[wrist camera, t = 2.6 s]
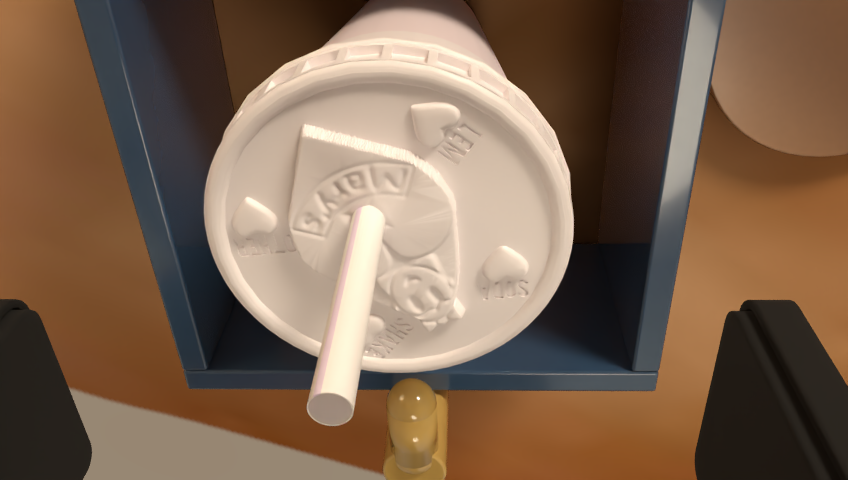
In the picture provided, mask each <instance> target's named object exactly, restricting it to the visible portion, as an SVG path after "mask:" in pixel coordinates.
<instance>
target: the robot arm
mask: <svg viewBox="0 0 848 480" xmlns="http://www.w3.org/2000/svg"><path fill="white" fill-rule="evenodd" d="M91 456H92V448H91V443H90V440H89V438H88V435H87V433H86V431H85V428H84V426H83V423H82V420H81V418H80V415H79V413H78V411H77V408H76V406H75V403H74V400H73V398H72V395H71V393H70V390H69V388H68V385H67V383H66V380H65V378H64V375H63V373H62V370H61V368H60V365H59V363H58V360H57V358H56V355H55V353H54V350H53V348H52V345H51V343H50V340H49V338H48V335H47V333H46V330H45V328H44V325H43V323H42V320H41V318H40V316H39V314H38V313H37V312H35V311H33V310H29V308H28V306H27V305H26V304H25V303H24V302H23V301H21V300H16V299H0V480H83V478H84V476H85V474H86V473H87V471H88V468H89V466H90V462H91ZM695 470H696V476H697V480H848V386H847V385H846V383H845V381H844V380H843V378H842V376H841V375H840V373H839V372H838V370H837V368H836V367H835V365H834V363H833V362H832V360H831V358H830V357H829V355H828V354H827V352H826V350H825V349H824V347H823V345H822V344H821V342H820V341H819V339H818V337H817V336H816V334H815V332H814V331H813V329H812V327H811V326H810V324H809V323H808V321H807V319H806V318H805V316H804V314H803V313H802V311H801V309H800V308H799V306H798V305H797V304H796V303H795V302H794V301H791V300H747V301H744V303H743V304H742V305H741V308H740V311H731V312H729V313H728V314H727V316H726V319H725V323H724V328H723V332H722V337H721V341H720V346H719V350H718V354H717V359H716V363H715V368H714V372H713V376H712V381H711V385H710V390H709V394H708V398H707V403H706V407H705V412H704V416H703V420H702V425H701V429H700V434H699V438H698V443H697V447H696V452H695Z"/></svg>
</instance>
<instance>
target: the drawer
mask: <svg viewBox="0 0 848 480" xmlns="http://www.w3.org/2000/svg"><path fill="white" fill-rule="evenodd" d="M74 2H75V5H76V9H77V12H78V15H79V19H80V22H81V26H82V29H83V32H84V36H85V39H86V43H87V46H88V49H89V53H90V56H91V60H92V63H93V66H94V70H95V73H96V76H97V80H98V83H99V87H100V90H101V93H102V97H103V100H104V104H105V107H106V110H107V114H108V117H109V121H110V124H111V127H112V131H113V134H114V138H115V141H116V144H117V148H118V151H119V155H120V158H121V161H122V165H123V168H124V171H125V175H126V178H127V182H128V185H129V188H130V192H131V195H132V199H133V202H134V205H135V209H136V212H137V216H138V219H139V222H140V226H141V229H142V233H143V236H144V239H145V243H146V246H147V250H148V253H149V256H150V260H151V263H152V266H153V270H154V273H155V277H156V280H157V283H158V287H159V290H160V294H161V297H162V300H163V304H164V307H165V311H166V314H167V317H168V321H169V324H170V328H171V331H172V334H173V338H174V341H175V344H176V348H177V351H178V355H179V358H180V361H181V365H182V368H183V369H184V375H185V378H186V382H187V385H188V388H189V389H293V390H311V386H312V381H313V377H314V373H315V369H316V365H317V361H318V357H316V356H314V355H311V354H309V353H307V352H305V351H303V350H301V349H299V348H297V347H294V346H293V345H291V344H290V343H288V342H286V341H285V340H283V339H281V338H280V337H278V336H277V335H276V334H274V333H273V332H271V331H270V330H269V329H267V328H266V327H265V326H264V325H263V324H261V323H260V322H259V321H258V320H257V319H256V318H255V317H254V316H253V315H252V314H251V313H250V312H249V311H248V310H247V309H246V308H245V307H244V306H243V305H242V304H241V303H240V301H239V300H238V299H237V298H236V297H235V295H234V294H233V292H232V291H231V290H230V288H229V287H228V285H227V284H226V282H225V280H224V278H223V277H222V275H221V273H220V271H219V269H218V267H217V265H216V263H215V260H214V258H213V256H212V252H211V249H210V246H209V243H208V239H207V234H206V228H205V220H204V194H205V187H206V181H207V177H208V173H209V170H210V166H211V163H212V161H213V158H214V156H215V154H216V151H217V149H218V147H219V145H220V144H221V142H222V139H223V135H224V131H225V130H226V128H227V127H228V125H229V124H230V122H231V120H232V119H233V117H234V111H233V106H232V100H231V95H230V90H229V85H228V80H227V75H226V69H225V64H224V59H223V54H222V49H221V44H220V39H219V33H218V28H217V23H216V18H215V13H214V8H213V2H212V0H74ZM725 5H726V0H623V5H622V14H621V24H620V33H619V42H618V52H617V61H616V71H615V80H614V89H613V99H612V108H611V118H610V127H609V136H608V146H607V155H606V165H605V174H604V183H603V193H602V202H601V212H600V221H599V230H598V240H597V242H598V244H572V250H571V254H570V258H569V262H568V265H567V268H566V270H565V273H564V276H563V278H562V280H561V282H560V284H559V286H558V288H557V290H556V292H555V293H554V295H553V297H552V298H551V300H550V301H549V303H548V304H547V305H546V307H545V308H544V309H543V310H542V311H541V313H540V314H539V315H538V316H537V317H536V318H535V319H534V320H533V321H532V322H531V323H530V324H529V325H528V326H527V327H526V328H525V329H524V330H522V331H521V332H520V333H519V334H518V335H516V336H515V337H513V338H512V339H511V340H509V341H508V342H506V343H505V344H503V345H501V346H500V347H498V348H496V349H494V350H493V351H491V352H489V353H486V354H484V355H482V356H480V357H478V358H475V359H473V360H470V361H467V362H464V363H461V364H458V365H454V366H450V367H447V368H442V369H436V370H431V371H422V372H410V373H384V372H376V371H367V370H361V371H360V377H359V383H358V389H357V390H390V391H389V393H388V396H387V400H386V408H387V419H388V425H387V433H386V442H385V451H384V459H383V473H384V476H385V478H386V480H444V479H445V477H446V474H447V445H448V405H449V390H514V391H654V390H655V389H656V384H657V378H658V370H659V368H660V362H661V357H662V351H663V346H664V340H665V335H666V329H667V324H668V318H669V313H670V307H671V302H672V296H673V291H674V285H675V280H676V274H677V269H678V263H679V258H680V252H681V247H682V241H683V236H684V230H685V225H686V219H687V214H688V208H689V203H690V197H691V192H692V186H693V181H694V175H695V170H696V164H697V159H698V153H699V148H700V142H701V137H702V131H703V126H704V120H705V115H706V109H707V104H708V98H709V93H710V87H711V82H712V76H713V71H714V65H715V60H716V54H717V49H718V43H719V38H720V32H721V27H722V21H723V16H724V10H725Z"/></svg>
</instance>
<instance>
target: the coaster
mask: <svg viewBox="0 0 848 480" xmlns="http://www.w3.org/2000/svg"><path fill="white" fill-rule="evenodd" d="M710 92H711V94H712V96H713V97H714V99H715V101H716V103H717V105H718V106H719V108H720V109H721V110H722V112H723V113H724V114H725V116H726V117H727V118H728V119H729V121H730V122H731V123H732V124H733V125H734V126H735V127H736V128H737V129H738V130H739V131H741V132H742V133H743V134H744V135H746V136H747V137H749V138H750V139H752V140H753V141H755V142H757V143H759V144H761V145H763V146H765V147H767V148H770V149H773V150H776V151H779V152H783V153H786V154H792V155H798V156H809V157H827V156H839V155H845V154H848V0H726V5H725V10H724V16H723V21H722V27H721V32H720V38H719V43H718V49H717V54H716V60H715V65H714V71H713V76H712V82H711V87H710Z"/></svg>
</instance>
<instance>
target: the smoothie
mask: <svg viewBox="0 0 848 480" xmlns="http://www.w3.org/2000/svg"><path fill="white" fill-rule="evenodd" d="M204 220H205V228H206V234H207V239H208V243H209V246H210V249H211V252H212V256H213V258H214V260H215V263H216V265H217V267H218V269H219V271H220V273H221V275H222V277H223V278H224V280H225V282H226V284H227V285H228V287H229V288H230V290H231V291H232V292H233V294H234V295H235V297H236V298H237V299H238V300H239V301H240V303H241V304H242V305H243V306H244V307H245V308H246V309H247V310H248V311H249V312H250V313H251V314H252V315H253V316H254V317H255V318H256V319H257V320H258V321H259V322H260V323H261V324H263V325H264V326H265V327H266V328H267V329H269V330H270V331H271V332H273V333H274V334H276V335H277V336H278V337H280V338H281V339H283V340H285V341H286V342H288V343H290V344H291V345H293V346H294V347H297V348H299V349H301V350H303V351H305V352H307V353H309V354H311V355H314V356H316V357H318V361H317V365H316V369H315V373H314V377H313V381H312V386H311V390H310V394H309V398H308V402H307V412H308V414H309V415H310V417H311V418H312V419H313V420H315V421H316V422H318V423H320V424H323V425H328V426H338V425H342V424H345V423H346V422H348V421H349V420H350V419H351V418H352V416H353V413H354V407H355V401H356V395H357V389H358V383H359V377H360V371H361V370H367V371H376V372H384V373H410V372H422V371H431V370H436V369H442V368H447V367H450V366H454V365H458V364H461V363H464V362H467V361H470V360H473V359H475V358H478V357H480V356H482V355H484V354H486V353H489V352H491V351H493V350H494V349H496V348H498V347H500V346H501V345H503V344H505V343H506V342H508V341H509V340H511V339H512V338H513V337H515V336H516V335H518V334H519V333H520V332H521V331H522V330H524V329H525V328H526V327H527V326H528V325H529V324H530V323H531V322H532V321H533V320H534V319H535V318H536V317H537V316H538V315H539V314H540V313H541V311H542V310H543V309H544V308H545V307H546V305H547V304H548V303H549V301H550V300H551V298H552V297H553V295H554V293H555V292H556V290H557V288H558V286H559V284H560V282H561V280H562V278H563V276H564V273H565V270H566V268H567V265H568V262H569V258H570V254H571V250H572V243H573V235H574V215H573V206H572V200H571V185H570V172H569V169H568V166H567V164H566V161H565V158H564V156H563V153H562V150H561V148H560V145H559V142H558V140H557V137H556V134H555V131H554V130H553V129H552V127H551V126H550V125H549V124H548V122H547V121H546V120H545V118H544V117H543V116H542V114H541V113H540V112H539V110H538V109H537V108H536V106H535V105H534V104H533V102H532V101H531V100H530V99H529V97H528V96H527V95H526V93H524V92H523V91H522V90H520V89H519V88H518V87H516V86H515V85H514V84H512V83H511V82H510V81H508V80H507V78H506V76H505V74H504V72H503V70H502V68H501V66H500V64H499V62H498V60H497V58H496V56H495V54H494V52H493V50H492V48H491V46H490V44H489V42H488V40H487V38H486V36H485V34H484V32H483V30H482V28H481V26H480V24H479V22H478V20H477V18H476V16H475V14H474V13H473V11H472V10H471V8H470V7H469V6H468V5H467V4H466V3H465V1H464V0H369V1H368V2H367V3H366V4H365V5H364V6H363V7H362V8H361V9H360V10H359V11H358V12H357V13H356V14H355V15H354V16H353V17H352V18H351V19H350V20H349V21H348V22H347V23H346V24H345V25H344V26H343V27H342V28H341V29H340V30H339V31H338V32H337V33H336V34H335V35H334V36H333V37H332V38H331V39H330V40H329V41H328V42H327V43H326V44H325V45H324V46H323V47H322V48H321V49H318V50H316V51H314V52H311V53H309V54H307V55H304V56H302V57H300V58H297V59H295V60H293V61H290V62H288V63H286V64H284V65H283V66H282V67H281V68H279V69H278V70H277V71H276V72H275V73H273V74H272V75H271V76H270V77H269V78H267V79H266V80H265V81H264V82H262V83H261V84H260V85H259V86H258V87H256V88H255V89H254V90H253V91H252V92H250V93H249V94H248V96H247V97H246V99H245V100H244V102H243V103H242V105H241V106H240V108H239V110H238V111H237V113H236V114H235V116H234V117H233V119H232V120H231V122H230V124H229V125H228V127H227V128H226V130H225V131H224V135H223V139H222V142H221V144H220V145H219V147H218V149H217V151H216V154H215V156H214V158H213V161H212V163H211V166H210V170H209V173H208V177H207V181H206V187H205V194H204Z"/></svg>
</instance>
